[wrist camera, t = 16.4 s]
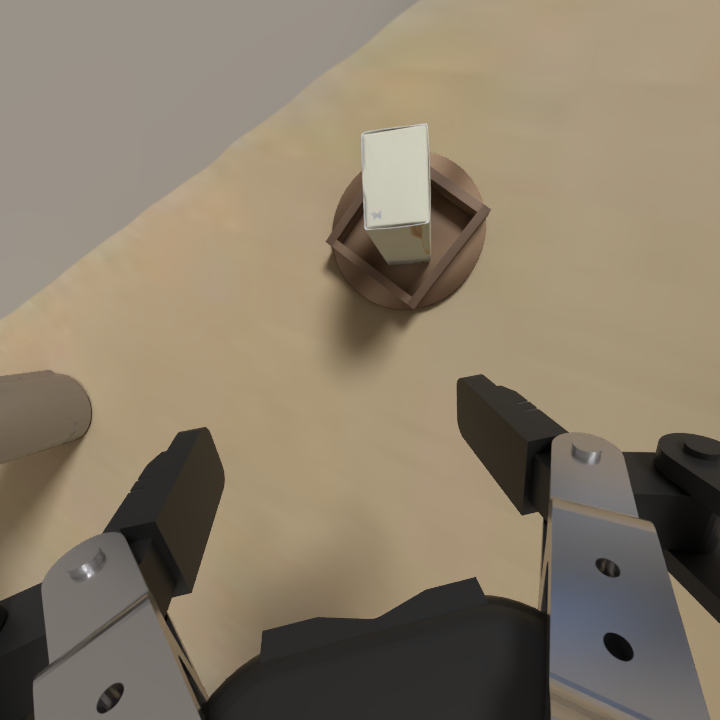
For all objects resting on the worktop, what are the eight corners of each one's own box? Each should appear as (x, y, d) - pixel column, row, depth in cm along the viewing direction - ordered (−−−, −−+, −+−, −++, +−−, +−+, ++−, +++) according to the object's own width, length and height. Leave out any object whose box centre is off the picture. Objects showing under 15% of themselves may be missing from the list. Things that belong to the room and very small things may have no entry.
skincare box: (431, 263, 33) (431, 229, 21) (387, 266, 33) (363, 235, 22) (430, 194, 32) (429, 118, 20) (385, 199, 33) (359, 130, 21)
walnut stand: (307, 252, 36) (297, 247, 33) (393, 123, 33) (389, 105, 30) (418, 338, 34) (417, 340, 32) (519, 212, 31) (527, 202, 28)
